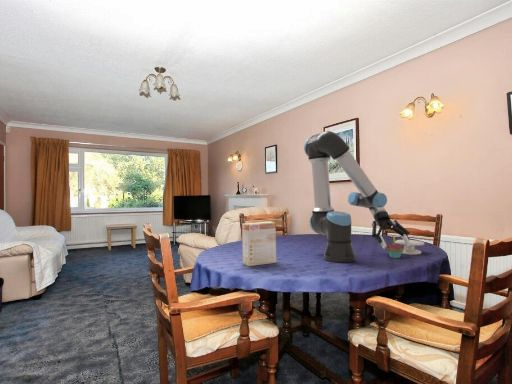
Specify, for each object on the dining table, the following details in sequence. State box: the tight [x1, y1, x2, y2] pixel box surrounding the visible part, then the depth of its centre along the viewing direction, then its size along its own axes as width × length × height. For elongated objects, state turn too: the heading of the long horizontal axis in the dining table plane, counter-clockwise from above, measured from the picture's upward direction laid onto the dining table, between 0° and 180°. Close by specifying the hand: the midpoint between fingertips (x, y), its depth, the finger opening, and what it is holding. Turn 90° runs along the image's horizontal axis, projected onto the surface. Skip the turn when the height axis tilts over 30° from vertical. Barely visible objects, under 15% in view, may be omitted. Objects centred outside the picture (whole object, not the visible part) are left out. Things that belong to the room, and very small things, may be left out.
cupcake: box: [385, 234, 404, 259], centre depth 153 cm, size 9×8×12 cm
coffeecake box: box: [241, 220, 277, 267], centre depth 144 cm, size 15×7×20 cm, turn 115°
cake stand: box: [395, 239, 425, 256], centre depth 164 cm, size 14×14×6 cm
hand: (397, 247), depth 152 cm, fingers open, 13 cm apart
